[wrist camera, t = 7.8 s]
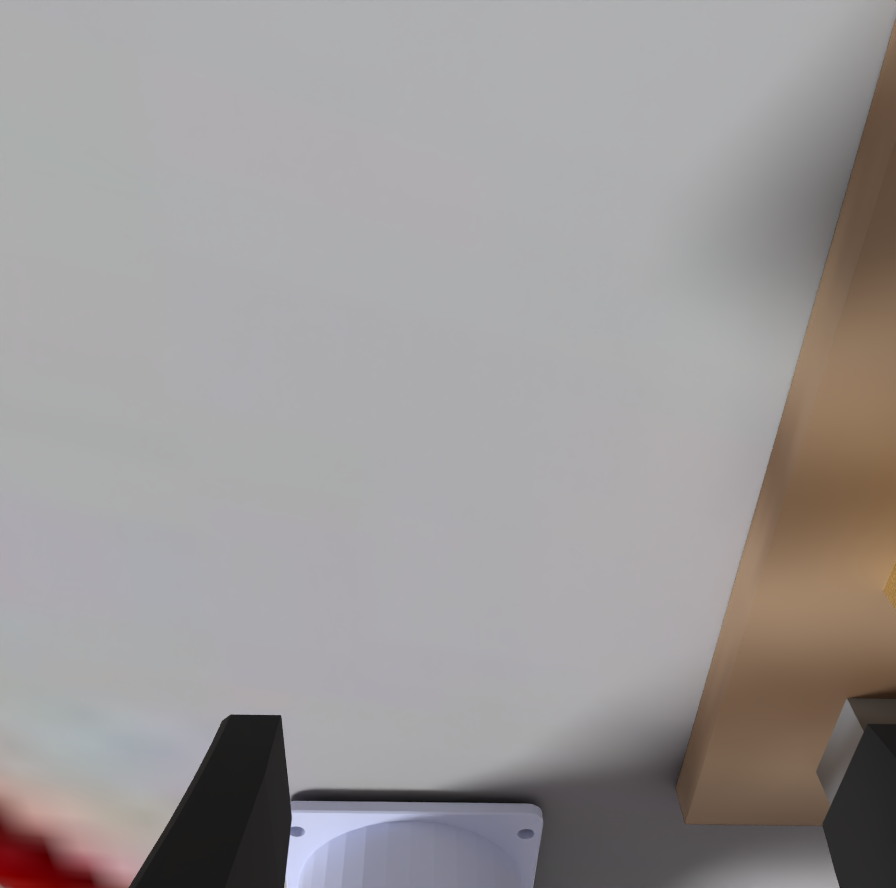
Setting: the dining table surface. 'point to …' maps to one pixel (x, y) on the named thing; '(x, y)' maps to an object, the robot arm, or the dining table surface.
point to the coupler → (891, 587)
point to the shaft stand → (816, 541)
